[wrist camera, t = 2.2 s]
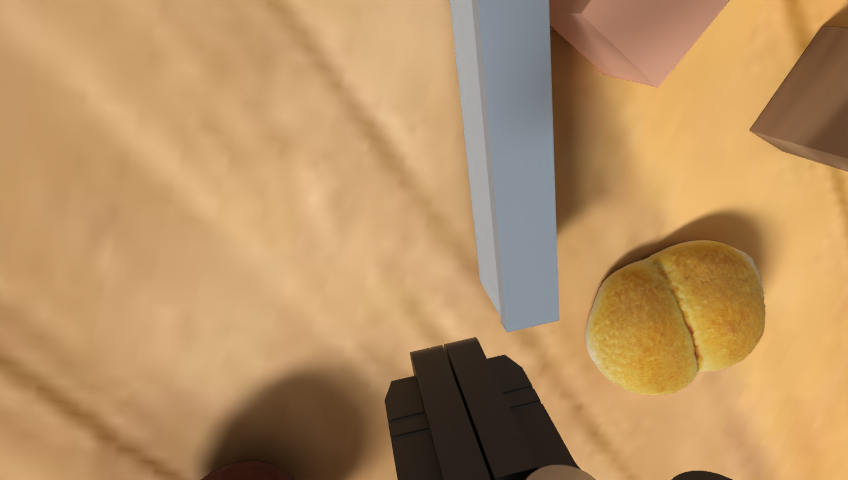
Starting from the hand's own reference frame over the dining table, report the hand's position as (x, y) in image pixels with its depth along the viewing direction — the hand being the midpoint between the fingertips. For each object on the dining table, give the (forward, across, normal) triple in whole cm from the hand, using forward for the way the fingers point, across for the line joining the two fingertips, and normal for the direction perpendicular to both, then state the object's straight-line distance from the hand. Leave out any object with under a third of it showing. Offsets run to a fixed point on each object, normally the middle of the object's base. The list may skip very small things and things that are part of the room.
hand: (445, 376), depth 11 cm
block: (+12, -10, -6) cm, 17 cm away
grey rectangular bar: (+12, -5, -2) cm, 13 cm away
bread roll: (+12, -14, +9) cm, 20 cm away
